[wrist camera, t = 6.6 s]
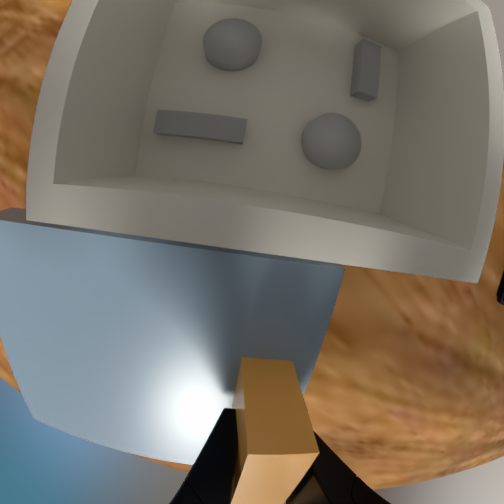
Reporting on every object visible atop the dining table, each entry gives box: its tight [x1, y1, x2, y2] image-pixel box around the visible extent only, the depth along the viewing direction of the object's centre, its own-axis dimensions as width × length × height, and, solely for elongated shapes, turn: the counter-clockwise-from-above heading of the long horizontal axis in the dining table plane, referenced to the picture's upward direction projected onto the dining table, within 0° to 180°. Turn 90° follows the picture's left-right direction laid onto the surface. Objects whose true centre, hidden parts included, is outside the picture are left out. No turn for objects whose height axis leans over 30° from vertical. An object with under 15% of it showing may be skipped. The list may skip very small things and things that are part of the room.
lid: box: [0, 208, 345, 504], centre depth 8 cm, size 12×10×6 cm
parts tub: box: [26, 0, 504, 283], centre depth 7 cm, size 11×9×6 cm
